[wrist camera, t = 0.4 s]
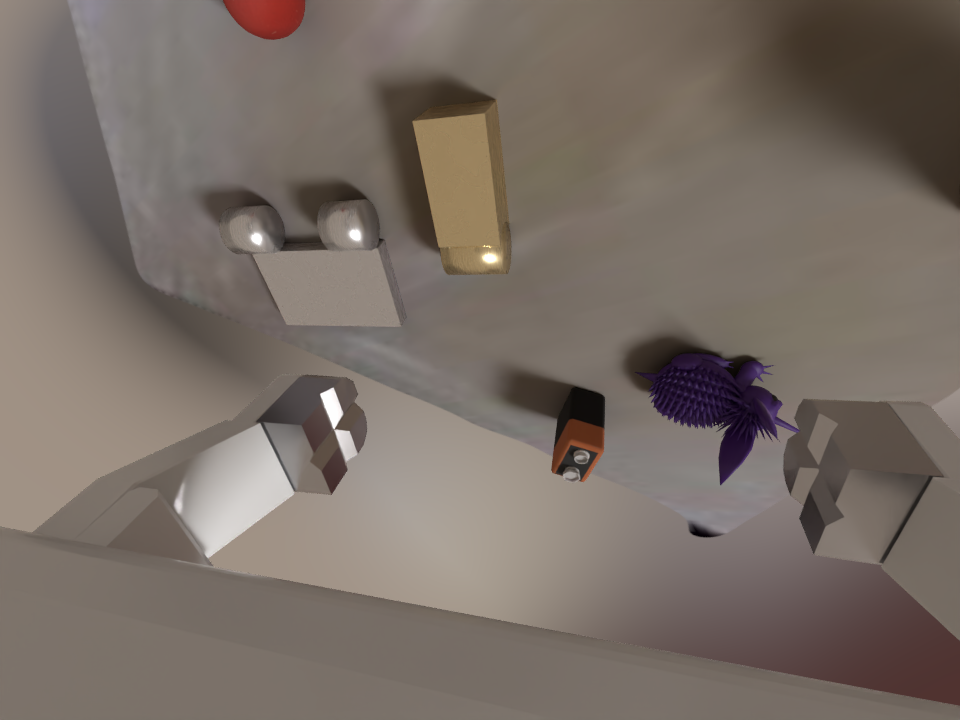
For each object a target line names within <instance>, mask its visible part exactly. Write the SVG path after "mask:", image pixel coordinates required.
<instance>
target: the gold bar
mask: <svg viewBox="0 0 960 720" xmlns="http://www.w3.org/2000/svg"><path fill="white" fill-rule="evenodd" d="M413 126H414V131H415V136H416V141H417V145H418V150H419V155H420V160H421V165H422V169H423V174H424V179H425V184H426V189H427V193H428V198H429V203H430V208H431V213H432V217H433V222H434V227H435V232H436V237H437V242H438V246H439V247H440V253H441V261H442V265H443V268H444V270H445V272H446V273H447V274H448V275H478V274H508V272H509V269H510V264H511V236H510V229H509V216H508V206H507V196H506V186H505V176H504V166H503V156H502V146H501V136H500V126H499V117H498V107H497V100H489V101H481V102H472V103H463V104H454V105H445V106H436V107H430V108H429V109H428V110H426V111H425V112H424V113H422V114H421V115H420V116H418V117H417V118H416V119H415V120H413Z"/></svg>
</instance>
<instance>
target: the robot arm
mask: <svg viewBox="0 0 960 720" xmlns="http://www.w3.org/2000/svg"><path fill="white" fill-rule="evenodd" d="M357 395H358V393H357V390H356V388H355V385H354V383H353V381H352V380H350V379H348V378H346V377H332V376H317V375H302V374H301V375H300V374H284V375H280V376H278V377H277V378H276V379H275V380H274V381H273V382H272V383H271V384H270V385H269V386H268V387H267V388H266V389H265V390H264V391H263V392H261V393H260V394H259V395H258V396H257V397H256V398H255V399H254V400H253V401H252V402H251V403H250V404H249V405H248V406H247V407H246V408H245V409H244V410H243V411H242V412H240V413H239V414H238V415H237V416H236V417H235V418H234V419H233V420H232V421H228V420H225V421H223V422H221V423H218V424H216V425H214V426H212V427H210V428H207V429H205V430H203V431H201V432H199V433H197V434H195V435H193V436H190V437H188V438H186V439H184V440H181V441H179V442H177V443H175V444H173V445H170V446H168V447H166V448H164V449H162V450H159V451H157V452H155V453H153V454H151V455H148V456H146V457H144V458H142V459H140V460H138V461H135V462H133V463H131V464H129V465H127V466H124V467H122V468H120V469H118V470H116V471H114V472H111V473H109V474H107V475H105V476H103V477H100V478H98V479H97V480H95V481H94V482H93V483H92V484H91V485H89V486H88V487H87V488H86V489H84V490H83V491H82V492H81V493H80V494H78V495H77V496H76V497H75V498H74V499H72V500H71V501H70V502H69V503H67V504H66V505H65V506H64V507H63V508H61V509H60V510H59V511H58V512H57V513H55V514H54V515H53V516H52V517H50V518H49V519H48V520H47V521H46V522H45V523H43V524H42V525H41V526H39V527H38V528H37V529H36V530H35V531H34V532H32V533H31V532H26V531H20V530H15V529H10V528H5V527H0V720H960V706H956V705H951V704H945V703H940V702H935V701H929V700H924V699H918V698H914V697H908V696H903V695H897V694H892V693H887V692H881V691H876V690H871V689H865V688H860V687H855V686H849V685H844V684H839V683H833V682H828V681H822V680H817V679H811V678H807V677H801V676H796V675H790V674H785V673H780V672H774V671H769V670H764V669H758V668H753V667H748V666H742V665H737V664H732V663H726V662H721V661H715V660H710V659H704V658H699V657H694V656H689V655H683V654H678V653H673V652H667V651H662V650H656V649H651V648H646V647H640V646H635V645H630V644H624V643H619V642H614V641H608V640H603V639H597V638H592V637H586V636H581V635H576V634H571V633H565V632H560V631H555V630H549V629H544V628H538V627H533V626H528V625H522V624H517V623H511V622H506V621H501V620H496V619H490V618H484V617H480V616H474V615H469V614H464V613H458V612H453V611H448V610H442V609H437V608H432V607H426V606H421V605H416V604H410V603H405V602H399V601H394V600H388V599H384V598H378V597H373V596H367V595H362V594H357V593H351V592H346V591H341V590H335V589H330V588H325V587H319V586H314V585H309V584H303V583H298V582H293V581H287V580H282V579H277V578H271V577H266V576H261V575H255V574H250V573H244V572H239V571H233V570H229V569H223V568H217V567H214V566H213V565H212V564H211V562H210V561H209V559H208V558H209V557H210V556H212V555H213V554H214V553H216V552H217V551H218V550H220V549H221V548H222V547H224V546H225V545H226V544H228V543H229V542H230V541H232V540H233V539H234V538H236V537H237V536H239V535H240V534H241V533H242V532H244V531H245V530H246V529H248V528H249V527H251V526H252V525H253V524H254V523H256V522H257V521H259V520H260V519H261V518H263V517H264V516H265V515H266V514H268V513H269V512H270V511H272V510H273V509H274V508H276V507H277V506H279V505H280V504H281V503H283V502H284V501H285V500H287V499H288V498H289V497H291V496H292V495H293V494H294V491H295V492H306V493H317V494H318V493H319V494H328V495H332V493H333V492H334V490H335V489H336V487H337V486H338V484H339V482H340V481H341V479H342V478H343V476H344V475H345V473H346V472H347V464H346V461H347V460H349V459H351V458H353V457H354V456H356V455H357V454H358V453H359V451H360V450H361V448H362V446H363V445H364V441H365V437H366V433H367V422H366V417H365V414H364V411H363V410H362V409H361V408H360V407H359V406H358V405H357V404H356V403H355V399H356V397H357ZM794 419H795V421H796V423H797V425H798V427H799V430H800V431H799V432H798V433H796V434H795V435H793V436H792V437H790V438H789V439H788V441H787V444H786V448H785V452H784V465H783V471H784V476H785V482H786V485H787V488H788V490H789V493H790V496H792V497H793V498H794V499H795V500H797V501H798V502H799V503H800V504H802V505H803V509H802V512H801V515H800V518H799V519H800V521H801V524H802V527H803V529H804V531H805V534H806V537H807V539H808V542H809V544H810V546H811V549H812V551H813V554H814V555H818V556H825V557H832V558H838V559H845V560H852V561H858V562H865V563H872V564H879V565H882V567H881V568H882V569H883V570H884V571H885V572H886V573H887V574H889V576H891V577H892V578H893V579H894V580H895V581H896V582H897V583H898V584H899V585H900V586H901V587H903V588H904V589H905V590H906V591H907V592H908V593H909V594H910V595H911V596H912V597H913V598H914V599H915V600H916V601H917V602H919V603H920V604H921V605H922V606H923V607H924V608H925V609H926V610H927V611H928V612H929V613H930V614H931V615H933V616H934V617H935V618H936V619H937V620H938V621H939V622H940V623H941V624H943V626H944V627H946V628H947V629H948V630H949V631H950V632H951V633H952V634H953V635H954V636H955V637H956V638H957V639H959V640H960V439H959V438H958V437H957V436H956V435H955V434H954V432H953V431H952V430H951V429H950V428H949V427H948V426H947V425H946V423H945V422H944V421H943V420H942V419H941V418H940V417H939V416H938V414H937V413H936V412H935V411H934V410H933V409H932V408H931V407H930V406H928V405H926V404H924V403H922V402H906V401H879V402H868V401H843V400H818V399H804V400H803V401H802V402H801V404H800V405H799V406H798V409H797V412H796V415H795V418H794Z"/></svg>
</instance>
